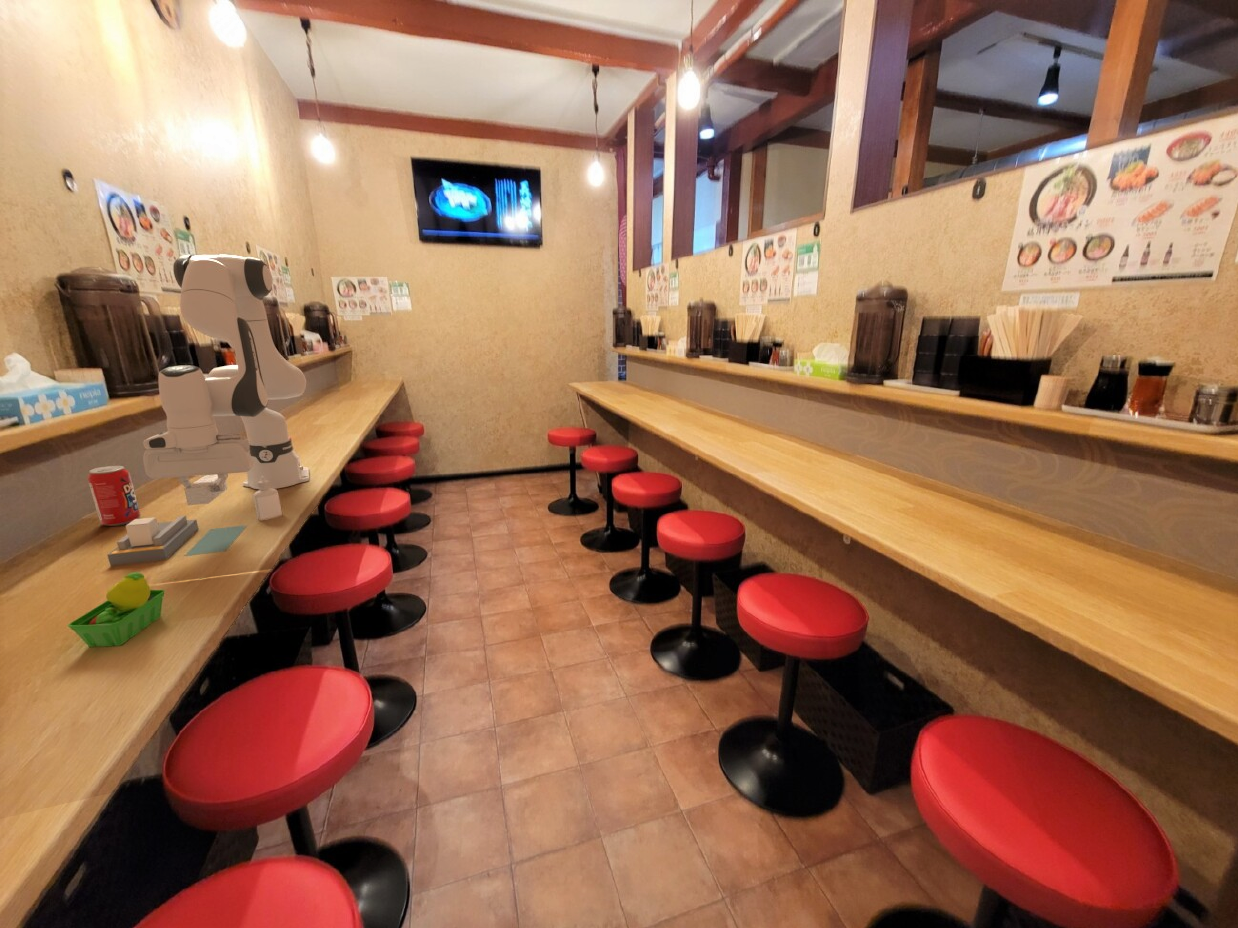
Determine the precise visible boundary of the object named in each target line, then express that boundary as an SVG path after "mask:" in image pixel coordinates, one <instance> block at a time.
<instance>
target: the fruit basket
mask: <svg viewBox="0 0 1238 928" xmlns="http://www.w3.org/2000/svg"><path fill="white" fill-rule="evenodd" d="M165 591H166V590H165V589H151V588H150V585H149V584H148V582H147V579H146V578H145V575H144V574H142V573H141V572H130V573H127V574H126V575H125V576H124V577H123V578H122V579H121V580H120V581H118V582H117V583H115V584H114V585H112V586H111V588H109V590H108V591H107V593H106V601H104V602H102V603H101V604H99V605H97V606H96V607H94V608H93V609H91V610H90V611H88V612H85V614H83V615H81V616H79V617H77V619H75V620H73V621H71V622H70V623H68V625H67V627H69V629H70V630H72V631H74V632H75V634H76V635H78V637H79V638H80V639H81V640H82V641H83V643H84V644H86V645H87V647H88V648H92V647H93V648H94V647H112V646H117V647H118V646H122V645H123V643H124V644H125V643H126V642H128V641H127V640H130V639H131V638H133V637H135V636H136V635H137V634H139V633H140V632H141V631H142V630H144V629H146V628H147V627H149V626H150V625H151V624H152V623H153V622H156V621H157V620H158V619H159V618H161V614H162V608H163V607H162V606H163V601H164V600H163V599H164V596H165ZM156 619H157V620H156ZM150 623H151V624H150ZM149 624H150V625H149ZM145 627H146V628H145ZM134 635H135V636H134Z"/></svg>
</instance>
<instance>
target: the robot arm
mask: <svg viewBox="0 0 1238 928" xmlns="http://www.w3.org/2000/svg"><path fill="white" fill-rule="evenodd" d="M173 275H174V278H175V281H176V283H177V285H178V286H179V287H180V289H181V290H180V297H179V298H180V302H179V303H180V304H179V307H180V314H181V316H182V318H183V319H184V321H185V323H187V325H189V326H190V327H191V328H192V329H193V330H195V331H198V332H199V333H201V334H203V335H205V336H207V337H210V338H214V339H217V340H220V341H223V342H225V343H227V344H228V345H229V346H230V348H232V349H233V350H234V355H235V358H236V359H235V360H236V364H229V365H224V366H219V367H214V368H213V369H211V370H210V371H209V373H208V374H207V375H208V376H205V375H204V372H203V371H202V369H201V368H200V367H198V366H195V365H192V364H191V365H189V364H188V365H187V364H185V365H173V366H168V367H165V368H163V369H161V370H160V371H159V372H158V390H159V391H158V392H159V396H160V402H161V403H160V404H161V408H162V409H163V411H164V413H165V415H166V427H167V431H162V432H160V433H158V434H155V435H153V436H150V437H148V438H146V439H144V440H143V441H142V444H143V447H144V449H146V450H145V451H144V452H143V456H142V458H143V460H142V461H143V468H144V472H145V474H146V476H147V477H149V478H150V479H152V480H156V479H166V478H167V479H168V478H177V480H178V482H179V483H180V484H181V485H182V486H183V487H184V488H186V487H188V486H190V485H191V484H193V482H191V481H190V480H189V479H190V477H199V476H205V475H218V478H221V480H220V482H219V483H217V484H216V485H214V487H215V491H216V492H221V491H224V490H225V485H224V483H225V481H226V482H227V479H228V476H229V474H240V473H246V480H245V481H243V482H242V486H243V487H247V488H252V489H254V490H260V489H259V485H258V482H259V481H261V477H264V478H265V480H267V481H269V485H270V488H273V489H276V490H277V489H282V488H287V487H290V486H294V485H298V484H300V483H304V482H305V483H306V482H308V481H310V469H309V467H307V466H302V464H301V459H300V458H301V457H300V456H299V454H297V453H296V452H295V451H294V446H293V441H292V437H290V436H289V429H288V424H287V419H286V417H285V416H284V415H283V414H282V413H280V412H278V411H276V410H273V409H270V408H268V403H269V400H287V399H291V398H296V397H300V396H301V397H302V395H303V394H304V392H305V390H306V389H307V388H306V387H307V379H306V376H305V374H304V373H303V371H302V370H301V369H300V368H299V367H298V366H296V365H294V364H293V363H291V362H289V361H288V360H286V358H284V356H283V355H281V353H280V352H279V351H278V349H277V348H276V346H275V344H274V343H275V342H274V341H273V338H272V337H273V336H272V334H271V330H270V326H269V321H268V316H267V311H266V308H265V304H264V302H263V301H264V297H267V296H268V295H269V294H270V293H271V291H273V283H274V282H273V281H274V279H273V275H272V273H271V270H270V268H269V266H268V265H267V263H265V262H264V261H263V260H262V259H259V258H256V257H251V256H247V257H244V256H238V255H232V254H231V255H230V254H219V255H218V254H202V255H201V254H200V255H195V254H185V255H181V256H179V257H177V259H175V261H174V262H173ZM233 416H234V417H235V416H237V417H240V419H241V420H242V423H243V426H244V430H245V433H246V437H245V436H244V435H241V434H233V435H232V434H231V435H230V434H219V432H218V431H219V430H218V427H217V421H216V418H215V417H233ZM224 492H225V491H224Z"/></svg>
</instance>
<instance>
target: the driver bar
mask: <svg viewBox="0 0 1238 928" xmlns="http://www.w3.org/2000/svg"><path fill="white" fill-rule="evenodd" d="M220 480H221V478H218V475H217V474H214V475H203V477H200V478H199V479H197V480H195V481H194V482H192V484H191V485H190V486H188V487H184V489H183V490H184V493H185V499H186V503H187V506H194V505H195V506H196V505H210V504H211V502H213V501H214V500H215V499H217V498H218V497H219V496H220V495H221V494H223V493H224V492H225V491H227V490H228V485H227V480H226V481H225V483H224V485H225V490H224V491H221V492H216V491H215V487H214V485H216V484H217V483H219V482H220Z"/></svg>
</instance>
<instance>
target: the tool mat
mask: <svg viewBox="0 0 1238 928" xmlns="http://www.w3.org/2000/svg"><path fill="white" fill-rule="evenodd" d="M247 526H248V524H247V525H238V526H228V527H219V528H218V527H216V528H210V529H209V530H208V531H207V532H206V533H205V534H204V535H203V537H201V538H200V540H198V542H196V543H195V544H194V545H193V547H191V549H190V550H188V551H187V552H186V553H185V554H184V556H185V557H189V556H195V555H196V556H197V555H204V554H214V553H223V552H226V551H227V550H228V549H229V547H231V546H232V544H233V543H234V542H235V540H237V538H238V537H239V536H240V535H241V534H242V532H243V531H244V530H245V529H246V528H247Z"/></svg>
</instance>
